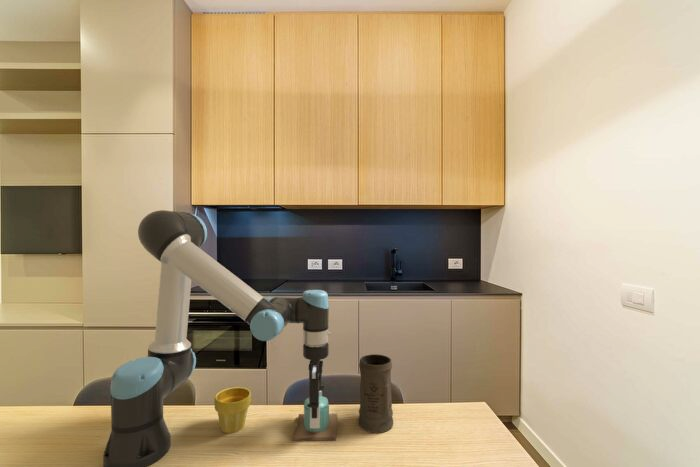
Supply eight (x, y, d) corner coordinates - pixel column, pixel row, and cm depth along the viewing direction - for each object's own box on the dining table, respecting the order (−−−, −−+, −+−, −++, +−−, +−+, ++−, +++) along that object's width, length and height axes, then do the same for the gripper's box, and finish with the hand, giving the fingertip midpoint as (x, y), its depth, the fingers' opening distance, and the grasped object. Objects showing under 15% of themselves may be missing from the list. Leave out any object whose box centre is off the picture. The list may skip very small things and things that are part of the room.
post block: (292, 440, 95) (292, 415, 95) (298, 417, 107) (298, 395, 107) (335, 440, 95) (335, 415, 95) (337, 417, 107) (336, 394, 107)
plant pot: (256, 418, 107) (256, 387, 107) (242, 438, 97) (242, 403, 96) (224, 416, 108) (224, 385, 108) (207, 436, 98) (207, 402, 98)
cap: (319, 434, 96) (319, 410, 96) (299, 427, 100) (299, 403, 100) (332, 422, 103) (332, 399, 103) (313, 415, 106) (313, 393, 106)
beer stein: (395, 435, 98) (395, 364, 99) (358, 434, 98) (358, 363, 99) (390, 410, 113) (390, 349, 114) (358, 410, 113) (358, 348, 114)
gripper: (326, 355, 91) (326, 440, 91) (330, 332, 111) (330, 402, 112) (298, 355, 91) (298, 440, 91) (307, 332, 111) (307, 402, 111)
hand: (316, 419), depth 101 cm, fingers closed on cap, 7 cm apart
